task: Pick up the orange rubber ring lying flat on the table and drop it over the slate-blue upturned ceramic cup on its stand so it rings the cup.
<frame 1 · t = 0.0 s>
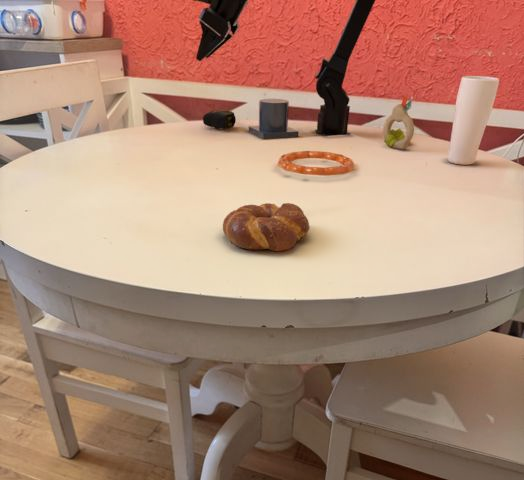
hand: (201, 58, 114), 15 cm above the table, tool tilted 35°, fingers open, 9 cm apart
cup stand: (273, 134, 119), on the table
pretzel: (266, 237, 65), on the table
beige hollow ornament: (402, 148, 111), on the table
tape measure: (220, 130, 122), on the table
ring: (315, 164, 92), point 1 cm above the table
drinking glass: (460, 163, 100), on the table
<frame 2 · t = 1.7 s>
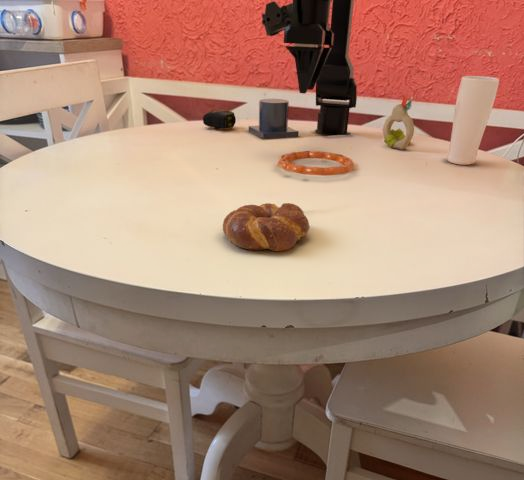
hand: (306, 91, 91), 12 cm above the table, tool pointing down, fingers open, 9 cm apart
nothing on the table moved.
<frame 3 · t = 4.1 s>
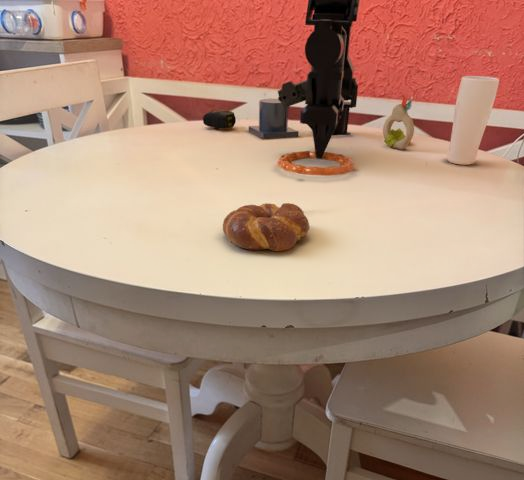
hand: (319, 156, 97), 1 cm above the table, tool pointing down, fingers closed on ring, 2 cm apart
ring: (315, 164, 92), point 1 cm above the table, touching gripper
everything else where it was.
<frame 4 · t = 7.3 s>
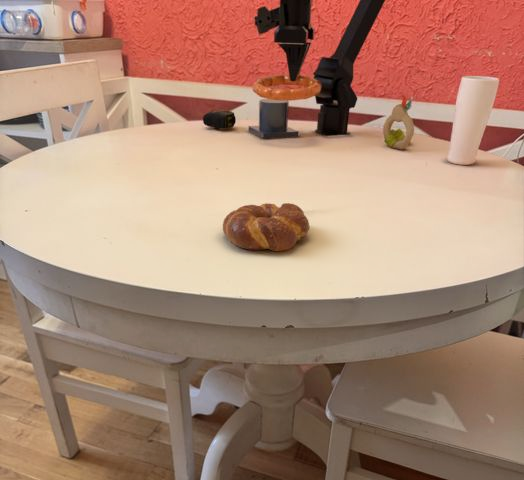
hand: (293, 80, 108), 12 cm above the table, tool pointing down, fingers closed on ring
ring: (287, 87, 103), point 11 cm above the table, tilted 7°, touching gripper
everything else where it was.
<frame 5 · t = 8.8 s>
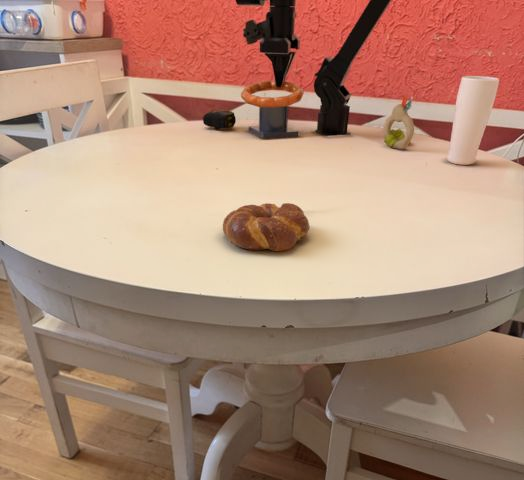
hand: (279, 86, 118), 9 cm above the table, tool pointing down, fingers closed on ring
ring: (272, 93, 114), point 9 cm above the table, tilted 10°, touching gripper
everything else where it was.
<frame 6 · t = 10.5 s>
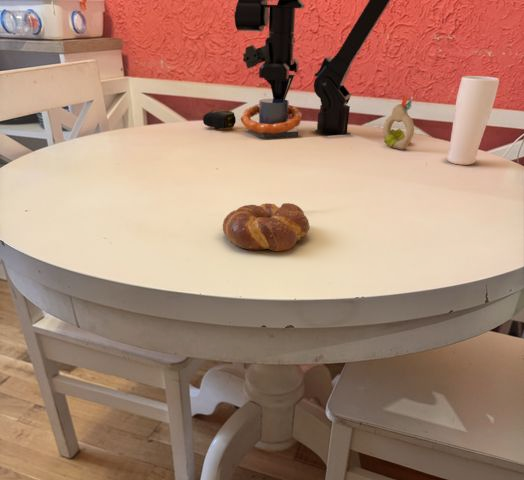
hand: (278, 108, 121), 5 cm above the table, tool pointing down, fingers closed on ring, 2 cm apart
ring: (271, 117, 117), point 4 cm above the table, tilted 13°, touching cup stand, gripper
everything else where it was.
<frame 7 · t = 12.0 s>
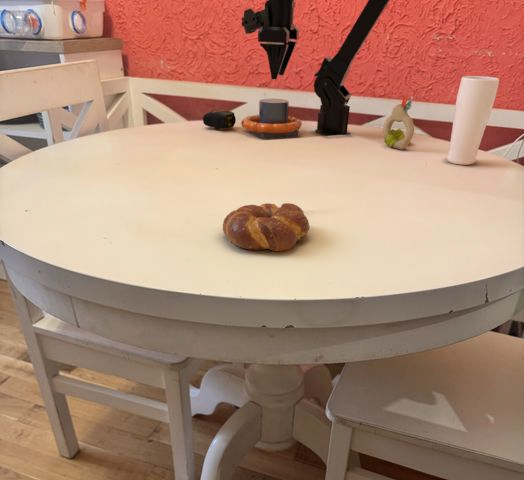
hand: (277, 77, 117), 11 cm above the table, tool pointing down, fingers open, 9 cm apart
ring: (271, 123, 118), point 2 cm above the table, touching cup stand
everything else where it was.
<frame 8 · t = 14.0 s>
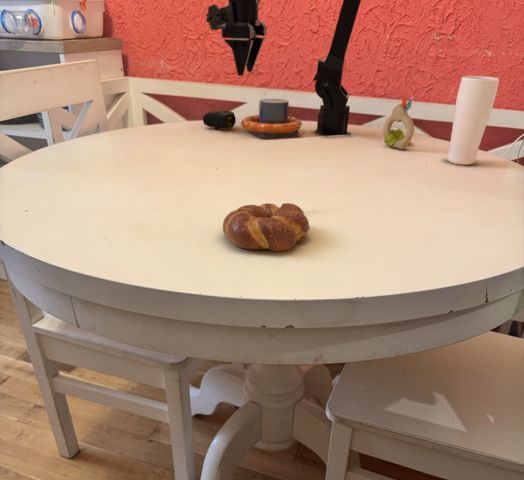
hand: (245, 73, 117), 12 cm above the table, tool pointing down, fingers open, 9 cm apart
nothing on the table moved.
at the end: ring 0.8 cm from the cup stand (horizontally); ring 0.8 cm off-centre on the cup stand, point 2.2 cm above the cup stand's base; the gripper is holding nothing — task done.
